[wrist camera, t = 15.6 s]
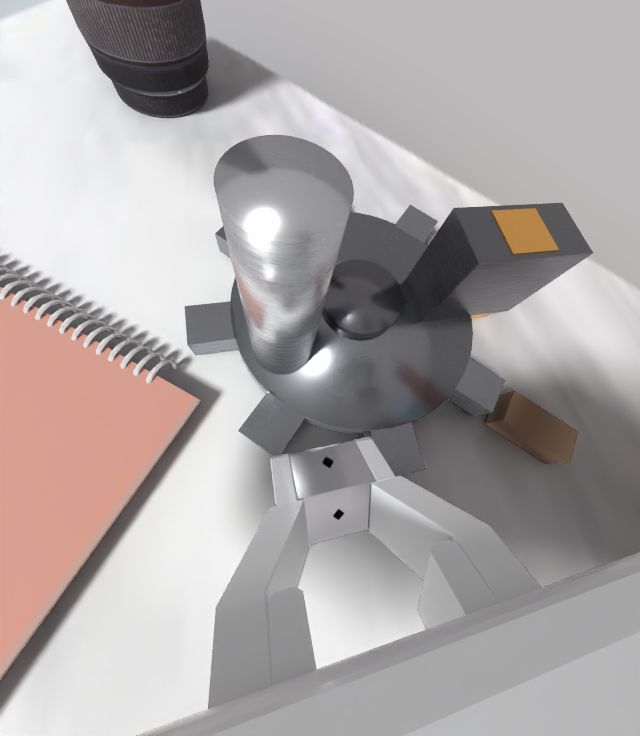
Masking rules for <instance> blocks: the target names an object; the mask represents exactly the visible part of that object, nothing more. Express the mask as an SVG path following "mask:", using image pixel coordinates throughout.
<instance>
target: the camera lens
mask: <svg viewBox="0 0 640 736" xmlns="http://www.w3.org/2000/svg"><path fill="white" fill-rule="evenodd" d="M66 1H67V3H68V6H69V8H70V10H71V12H72V15H73V17H74V19H75V21H76V24H77V26H78V28H79V30H80V31H81V33H82V35H83V37H84V38H85V40H86V42H87V44H88V45H89V47H90V49H91V51H92V53H93V55H94V57H95V59H96V61H97V63H98V65H99V67H100V68H101V70H102V71H103V72H104V73H105V74H106V75H107V76H108V77H109V78H110V79H111V80H112V82H113V84H114V86H115V88H116V91H117V93H118V95H119V96H120V98H121V99H122V100H123V101H124V102H125V103H126V104H127V105H128V106H129V107H131V108H132V109H134V110H136V111H138V112H140V113H143V114H146V115H150V116H156V117H177V116H182V115H186V114H189V113H191V112H193V111H195V110H197V109H198V108H199V107H200V106H201V105H202V104H203V103H204V102H205V100H206V98H207V95H208V87H207V81H206V73H207V70H208V55H207V47H206V33H205V24H204V19H203V13H202V7H201V2H200V0H66Z"/></svg>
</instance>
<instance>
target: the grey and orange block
mask: <svg viewBox="0 0 640 736" xmlns="http://www.w3.org/2000/svg"><path fill="white" fill-rule="evenodd" d="M592 253H593V252H592V250H591V249H590V247H589V246H588V244H587V242H586V241H585V239H584V237H583V236H582V234H581V232H580V231H579V229H578V228H577V226H576V224H575V223H574V221H573V220H572V218H571V216H570V214H569V213H568V211H567V210H566V208H565V207H564V205H563V203H550V204H529V205H510V206H509V205H507V206H487V207H466V208H453V210H452V211H451V213H450V214H449V216H448V217H447V219H446V220H445V222H444V223H443V225H442V226H441V228H440V229H439V231H438V232H437V234H436V235H435V237H434V238H433V240H432V241H431V243H430V244H429V245H428V247H427V248H426V250H425V251H424V253H423V254H422V256H421V257H420V259H419V260H418V262H417V263H416V265H415V266H414V268H413V269H412V271H411V272H410V274H409V275H408V277H407V278H406V280H407V283H408V286H409V289H410V292H411V294H412V297H413V300H414V303H415V306H416V308H417V311H418V314H419V317H420V320H421V322H427V321H434V320H442V319H449V318H457V317H464V316H471V315H479V314H486V313H494V312H501V311H508V310H510V309H511V308H513V307H514V306H516V305H517V304H519V303H520V302H522V301H523V300H525V299H526V298H528V297H529V296H531V295H532V294H533V293H535V292H536V291H538V290H539V289H541V288H542V287H544V286H545V285H547V284H548V283H550V282H551V281H553V280H554V279H556V278H557V277H559V276H560V275H562V274H563V273H564V272H566V271H567V270H569V269H570V268H572V267H573V266H575V265H576V264H578V263H579V262H581V261H582V260H584V259H585V258H587V257H588V256H590V255H591V254H592Z"/></svg>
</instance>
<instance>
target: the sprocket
mask: <svg viewBox="0 0 640 736" xmlns="http://www.w3.org/2000/svg"><path fill="white" fill-rule="evenodd" d="M214 187H215V191H216V196H217V200H218V204H219V208H220V213H221V217H222V221H223V225H224V226H223V227H222V228H221V229H220V230H219V231H218V232H216V233H215V235H216V239H217V242H218V246H219V249H220V251H221V252H222V253H224V254H225V255H227V256H228V257H230V258H231V260H232V264H233V268H234V273H235V280H234V284H233V288H232V293H231V302H222V303H212V304H203V305H193V306H185V315H186V330H187V344H188V346H189V347H190V349H191V350H192V351H193V353H194V354H195V355H201V354H209V353H216V352H224V351H231V350H239V351H240V354H241V356H242V359H243V362H244V363H245V365H246V367H247V369H248V371H249V373H250V375H251V376H252V377H253V379H254V380H255V382H256V383H257V384H258V386H259V387H260V388H261V389H262V390H263V391H264V392H265V393H266V395H265V396H264V398H263V399H262V400H261V401H260V403H259V404H258V405H257V407H256V408H255V409H254V411H253V412H252V413H251V415H250V416H249V417H248V419H247V420H246V421H245V422H244V424H243V425H242V426H241V428H240V429H239V430H238V431H239V432H240V433H241V434H243V435H244V436H246V437H247V438H248V439H250V440H251V441H253V442H254V443H256V444H257V445H258V446H260V447H261V448H263V449H264V450H265V451H267V452H268V453H270V454H271V455H273V456H277V455H281V453H282V452H283V450H284V449H285V447H286V446H287V444H288V443H289V442H290V440H291V439H292V437H293V436H294V434H295V433H296V431H297V430H298V428H299V427H300V425H301V424H302V422H303V421H305V422H307V423H310V424H312V425H314V426H317V427H320V428H324V429H328V430H331V431H337V432H344V433H363V437H368V436H369V437H371V438H372V440H373V441H374V443H375V444H376V446H377V448H378V449H379V451H380V452H381V454H382V456H383V457H384V459H385V460H386V462H387V463H388V465H389V467H390V468H391V470H392V471H393V473H394V475H395V476H400V475H404V474H408V473H412V472H416V471H420V470H424V469H426V468H425V465H424V462H423V458H422V455H421V452H420V448H419V445H418V442H417V439H416V435H415V432H414V429H413V425H412V421H414V420H416V419H419V418H421V417H423V416H425V415H426V414H428V413H429V412H431V411H432V410H434V409H435V408H437V407H438V406H439V405H440V404H441V403H442V402H443V401H444V400H446V399H448V400H450V401H452V402H453V403H455V404H456V405H458V406H459V407H461V408H462V409H464V410H465V411H467V412H468V413H470V414H472V415H473V416H475V417H476V416H480V415H484V414H488V413H492V412H493V410H494V407H495V405H496V402H497V400H498V397H499V395H500V392H501V390H502V387H503V384H504V382H505V380H504V379H502V378H501V377H499V376H498V375H496V374H495V373H493V372H491V371H490V370H488V369H487V368H485V367H483V366H482V365H480V364H479V363H477V362H476V361H474V360H472V359H471V358H470V353H471V348H472V336H473V331H472V319H471V318H477V317H484V316H487V315H488V314H490V313H486V314H479V315H471V316H464V317H457V318H449V319H442V320H434V321H427V322H421V320H420V317H419V314H418V311H417V308H416V306H415V303H414V300H413V297H412V294H411V292H410V289H409V286H408V283H407V280H406V278H407V277H408V275H409V274H410V272H411V271H412V269H413V268H414V266H415V265H416V263H417V262H418V260H419V259H420V257H421V256H422V254H423V253H424V251H425V250H426V248H427V247H428V245H427V244H426V243H425V240H426V239H427V237H428V236H429V234H430V233H431V231H432V230H433V228H434V226H435V225H436V223H437V222H438V221H437V220H435V219H433V218H432V217H430V216H428V215H427V214H425V213H423V212H421V211H420V210H418V209H416V208H415V207H413V206H411V205H410V206H409V207H408V208H407V210H406V211H405V212H404V214H403V215H402V216H401V218H400V219H399V220H398V222H397V223H396V224H393V223H391V222H388V221H386V220H383V219H380V218H377V217H374V216H370V215H365V214H360V213H353V212H350V209H351V206H352V202H353V196H354V191H353V184H352V180H351V178H350V175H349V174H348V172H347V170H346V168H345V167H344V166H343V165H342V163H341V162H340V161H339V160H338V159H337V158H336V157H335V156H333V155H332V154H331V153H330V152H328V151H327V150H325V149H324V148H322V147H320V146H318V145H316V144H314V143H312V142H309V141H306V140H303V139H300V138H296V137H291V136H284V135H265V136H258V137H254V138H250V139H247V140H244V141H242V142H240V143H238V144H236V145H234V146H233V147H231V148H230V149H229V150H228V151H226V152H225V153H224V155H223V156H222V157H221V158H220V160H219V162H218V163H217V166H216V168H215V172H214Z"/></svg>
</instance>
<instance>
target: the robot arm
mask: <svg viewBox="0 0 640 736" xmlns="http://www.w3.org/2000/svg"><path fill="white" fill-rule="evenodd" d="M270 462H271V471H272V480H273V488H274V497H275V506H273V507H270V508H269V510H268V512H267V513H266V515H265V517H264V519H263V521H262V523H261V525H260V526H259V528H258V530H257V532H256V534H255V536H254V538H253V539H252V541H251V543H250V545H249V547H248V549H247V551H246V552H245V554H244V556H243V558H242V560H241V562H240V564H239V566H238V567H237V569H236V571H235V573H234V575H233V577H232V579H231V580H230V582H229V584H228V586H227V588H226V590H225V592H224V593H223V595H222V597H221V599H220V601H219V603H218V605H217V606H216V614H215V627H214V640H213V652H212V665H211V677H210V690H209V703H208V709H207V710H204V711H202V712H199V713H196V714H194V715H191V716H188V717H185V718H183V719H180V720H177V721H174V722H172V723H169V724H166V725H163V726H161V727H158V728H155V729H152V730H150V731H147V732H144V733H141V734H139V735H136V736H640V552H638V553H635V554H632V555H629V556H627V557H624V558H621V559H618V560H616V561H613V562H610V563H607V564H605V565H602V566H599V567H597V568H594V569H591V570H588V571H586V572H583V573H580V574H577V575H575V576H572V577H569V578H566V579H564V580H561V581H558V582H555V583H553V584H550V585H547V586H544V587H541V586H540V585H539V583H538V582H537V581H536V580H535V579H534V578H533V576H532V575H531V574H530V573H529V572H528V570H527V569H526V568H525V567H524V566H523V564H522V563H521V562H520V561H519V560H518V558H517V557H516V556H515V555H514V554H513V552H512V551H511V550H510V549H509V548H508V546H507V545H506V544H505V543H504V542H503V540H502V539H501V538H500V537H499V536H498V534H497V533H496V532H495V531H494V530H493V528H492V527H491V526H490V525H488V524H486V523H484V522H483V521H481V520H479V519H477V518H475V517H474V516H472V515H470V514H468V513H467V512H465V511H463V510H461V509H459V508H458V507H456V506H454V505H452V504H450V503H449V502H447V501H445V500H443V499H442V498H440V497H438V496H436V495H434V494H433V493H431V492H429V491H427V490H426V489H424V488H422V487H420V486H418V485H417V484H415V483H413V482H411V481H409V480H408V479H406V478H404V477H402V476H397V477H396V476H395V475H394V473H393V471H392V470H391V468H390V467H389V465H388V463H387V462H386V460H385V459H384V457H383V456H382V454H381V452H380V451H379V449H378V448H377V446H376V444H375V443H374V441H373V440H372V438H371V437H369V436H368V437H363V438H359V439H354V440H351V441H346V442H341V443H337V444H332V445H328V446H323V447H319V448H313V449H308V450H302V451H297V452H291V453H288V454H283V455H277V456H272V457H271V459H270ZM364 530H369V532H370V533H372V534H373V535H374V536H375V537H376V538H377V539H378V540H379V541H380V542H381V543H383V544H384V545H385V546H386V547H387V548H388V549H389V550H390V551H391V552H392V553H394V554H395V555H396V556H397V557H398V558H399V559H400V560H401V561H402V562H404V563H405V564H406V565H407V566H408V567H409V568H410V569H411V570H412V571H413V572H415V573H416V574H417V575H418V576H419V577H420V578H421V579H422V580H423V581H424V584H423V588H422V592H421V597H420V601H419V606H418V613H419V615H420V617H421V619H422V622H423V624H424V626H425V628H426V630H424V631H421V632H418V633H416V634H413V635H410V636H407V637H405V638H402V639H399V640H396V641H394V642H391V643H388V644H385V645H383V646H380V647H377V648H374V649H372V650H369V651H366V652H363V653H361V654H358V655H355V656H352V657H350V658H347V659H344V660H341V661H339V662H336V663H333V664H331V665H328V666H325V667H322V668H320V669H317V670H316V665H315V659H314V653H313V647H312V641H311V636H310V630H309V624H308V618H307V613H306V607H305V601H304V595H303V591H302V590H300V589H298V585H299V582H300V578H301V575H302V572H303V568H304V565H305V561H306V558H307V555H308V551H309V546H310V545H314V544H317V543H320V542H323V541H327V540H330V539H333V538H336V537H340V536H344V535H348V534H352V533H356V532H360V531H364Z"/></svg>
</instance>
